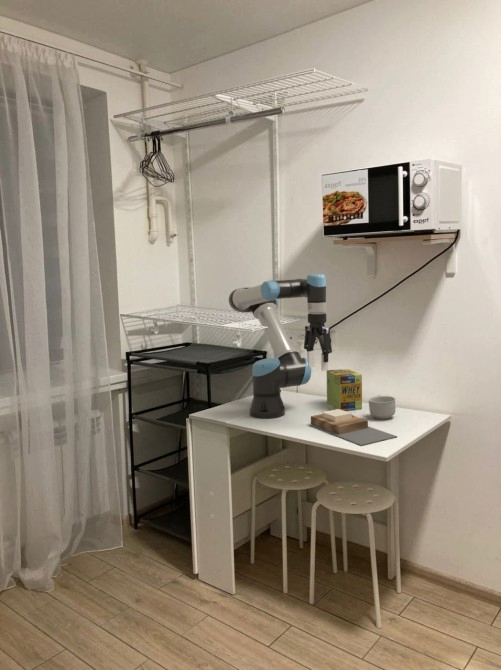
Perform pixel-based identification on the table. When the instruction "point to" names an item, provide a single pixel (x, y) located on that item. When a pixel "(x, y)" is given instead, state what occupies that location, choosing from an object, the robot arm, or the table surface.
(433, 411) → the table surface
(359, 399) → the protein box
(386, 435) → the mat
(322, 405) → the table surface
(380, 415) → the teacup
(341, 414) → the coaster
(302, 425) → the table surface
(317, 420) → the stand
